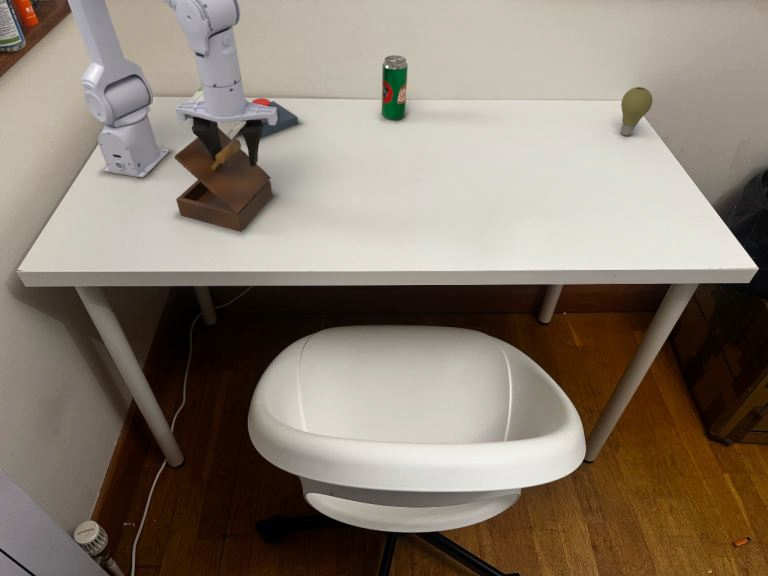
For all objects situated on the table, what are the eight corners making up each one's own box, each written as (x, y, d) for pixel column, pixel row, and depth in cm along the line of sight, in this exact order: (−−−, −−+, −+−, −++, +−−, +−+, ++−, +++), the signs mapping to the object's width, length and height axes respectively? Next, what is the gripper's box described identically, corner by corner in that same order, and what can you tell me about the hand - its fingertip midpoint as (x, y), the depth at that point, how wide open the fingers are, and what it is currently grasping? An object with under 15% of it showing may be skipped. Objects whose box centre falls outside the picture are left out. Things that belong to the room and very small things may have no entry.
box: (252, 141, 112) (249, 125, 109) (229, 124, 117) (226, 108, 114) (298, 124, 117) (296, 108, 115) (274, 108, 122) (272, 92, 119)
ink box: (209, 74, 114) (242, 94, 108) (224, 91, 118) (257, 111, 112) (182, 106, 113) (214, 128, 107) (198, 121, 117) (229, 143, 111)
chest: (180, 215, 94) (175, 199, 92) (215, 182, 101) (212, 166, 99) (241, 231, 92) (237, 215, 89) (272, 196, 99) (270, 180, 96)
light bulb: (616, 141, 114) (632, 94, 107) (607, 128, 118) (622, 81, 111) (643, 141, 114) (661, 94, 107) (633, 128, 118) (650, 82, 111)
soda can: (401, 122, 118) (404, 66, 110) (378, 119, 119) (379, 62, 111) (407, 111, 122) (410, 56, 113) (385, 108, 123) (386, 52, 114)
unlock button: (259, 116, 113) (257, 108, 112) (249, 109, 115) (248, 101, 113) (274, 110, 114) (273, 102, 113) (264, 104, 116) (263, 96, 115)
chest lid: (173, 157, 86) (185, 141, 83) (212, 125, 93) (224, 109, 90) (236, 214, 89) (249, 200, 86) (269, 179, 96) (282, 165, 93)
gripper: (277, 69, 82) (286, 151, 92) (179, 64, 83) (199, 146, 92) (266, 91, 77) (278, 175, 87) (162, 85, 78) (185, 170, 87)
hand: (236, 162), depth 89 cm, fingers open, 5 cm apart
